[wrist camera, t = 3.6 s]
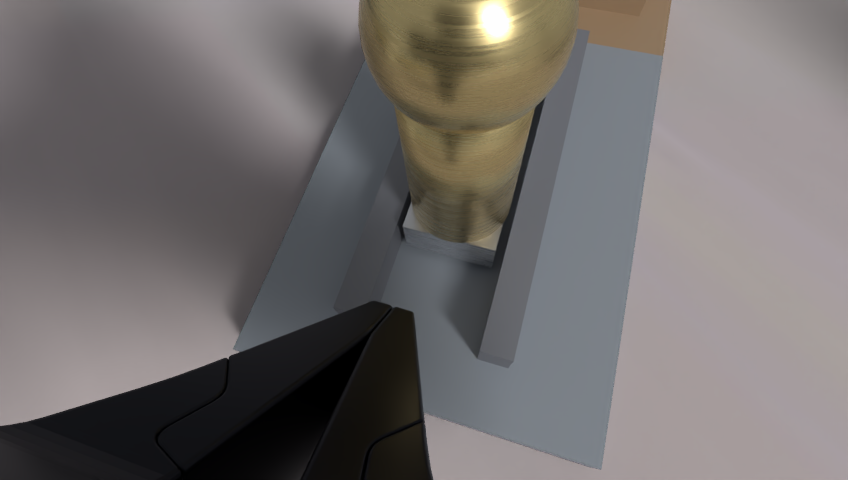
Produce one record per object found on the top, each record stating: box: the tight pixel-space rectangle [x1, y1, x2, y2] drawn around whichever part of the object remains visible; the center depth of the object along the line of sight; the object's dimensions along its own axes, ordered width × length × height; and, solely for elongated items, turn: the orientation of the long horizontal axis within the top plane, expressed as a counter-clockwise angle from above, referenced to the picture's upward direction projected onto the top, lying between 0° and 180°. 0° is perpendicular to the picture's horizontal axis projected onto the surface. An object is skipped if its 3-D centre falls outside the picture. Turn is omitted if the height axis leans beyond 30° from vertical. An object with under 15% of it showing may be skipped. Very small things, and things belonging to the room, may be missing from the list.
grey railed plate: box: [233, 0, 671, 470], centre depth 17 cm, size 21×12×5 cm, turn 163°
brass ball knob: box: [359, 0, 579, 268], centre depth 13 cm, size 10×4×10 cm, turn 163°
